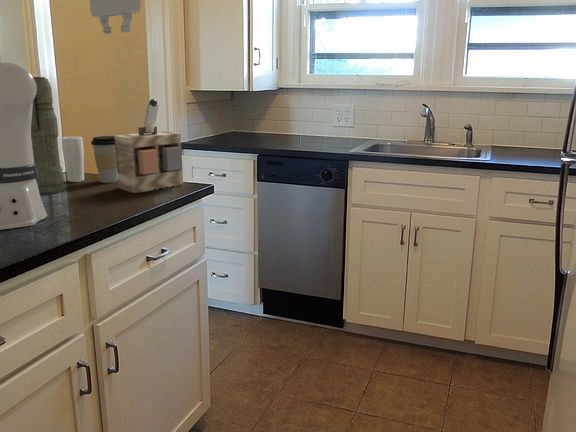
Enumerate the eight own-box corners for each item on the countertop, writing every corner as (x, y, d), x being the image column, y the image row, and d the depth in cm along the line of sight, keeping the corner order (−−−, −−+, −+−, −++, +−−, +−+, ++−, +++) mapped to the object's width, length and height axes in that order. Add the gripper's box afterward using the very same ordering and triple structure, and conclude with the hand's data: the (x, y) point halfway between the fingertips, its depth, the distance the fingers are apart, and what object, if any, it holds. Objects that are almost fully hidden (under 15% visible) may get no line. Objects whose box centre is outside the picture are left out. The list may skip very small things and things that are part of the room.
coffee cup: (115, 184, 188) (111, 139, 184) (89, 183, 190) (84, 138, 186) (127, 179, 197) (124, 136, 193) (102, 178, 199) (99, 135, 195)
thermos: (28, 195, 172) (14, 77, 163) (40, 187, 184) (27, 76, 174) (58, 195, 173) (46, 77, 164) (68, 187, 184) (57, 76, 175)
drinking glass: (79, 183, 190) (75, 138, 186) (61, 182, 191) (56, 138, 188) (90, 179, 196) (86, 136, 193) (72, 178, 198) (68, 135, 194)
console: (134, 193, 175) (129, 130, 170) (118, 188, 182) (113, 127, 177) (183, 184, 187) (180, 126, 182) (167, 180, 194) (163, 123, 189)
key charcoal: (168, 171, 179) (166, 149, 177) (156, 168, 184) (155, 146, 182) (181, 169, 182) (180, 147, 180) (169, 166, 187) (168, 145, 185)
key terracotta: (144, 174, 173) (142, 151, 171) (132, 171, 178) (131, 149, 176) (158, 172, 177) (157, 150, 175) (147, 169, 182) (145, 147, 180)
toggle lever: (145, 134, 179) (151, 101, 173) (142, 130, 180) (147, 97, 174) (154, 133, 181) (160, 101, 174) (150, 129, 182) (156, 97, 176)
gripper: (81, -19, 155) (86, 34, 159) (121, -27, 142) (126, 31, 145) (102, -17, 160) (107, 34, 163) (143, -25, 146) (147, 32, 150)
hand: (116, 33), depth 154 cm, fingers open, 8 cm apart
